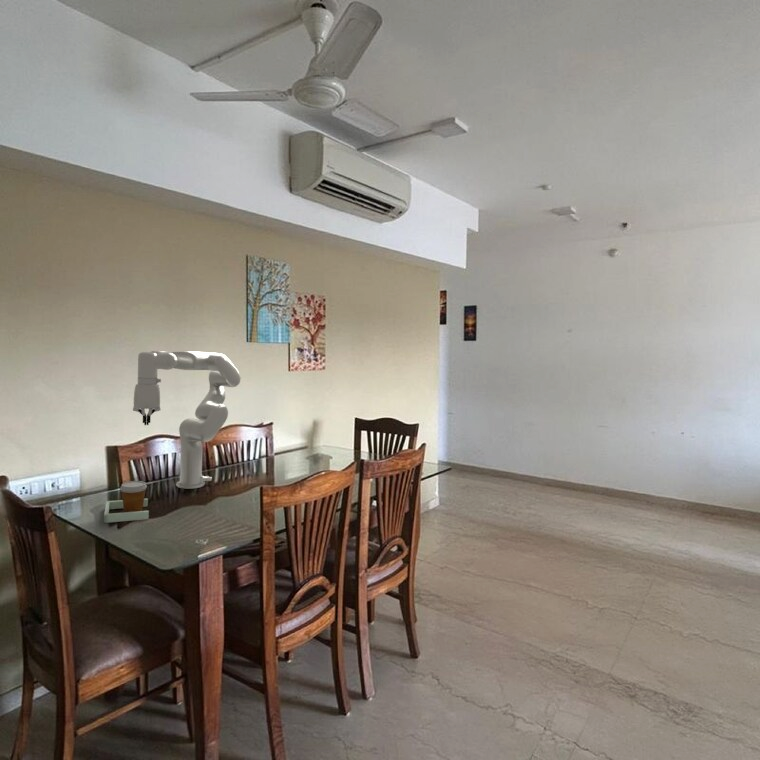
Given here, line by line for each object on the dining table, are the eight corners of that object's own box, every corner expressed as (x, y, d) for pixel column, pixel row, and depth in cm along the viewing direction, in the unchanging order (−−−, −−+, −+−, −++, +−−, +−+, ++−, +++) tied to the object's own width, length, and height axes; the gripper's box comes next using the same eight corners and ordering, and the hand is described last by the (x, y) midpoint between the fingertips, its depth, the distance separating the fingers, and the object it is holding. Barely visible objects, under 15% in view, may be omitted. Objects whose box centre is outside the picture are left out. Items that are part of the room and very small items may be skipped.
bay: (147, 505, 216) (147, 498, 215) (148, 519, 201) (148, 511, 201) (106, 508, 209) (106, 501, 209) (103, 522, 194) (104, 515, 194)
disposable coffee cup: (117, 518, 200) (117, 487, 199) (122, 510, 209) (123, 480, 208) (144, 517, 202) (144, 487, 201) (148, 509, 211) (148, 480, 210)
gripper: (166, 381, 226) (165, 422, 228) (127, 380, 220) (127, 423, 221) (167, 382, 220) (165, 426, 221) (127, 382, 213) (126, 426, 215)
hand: (146, 424), depth 221 cm, fingers closed
